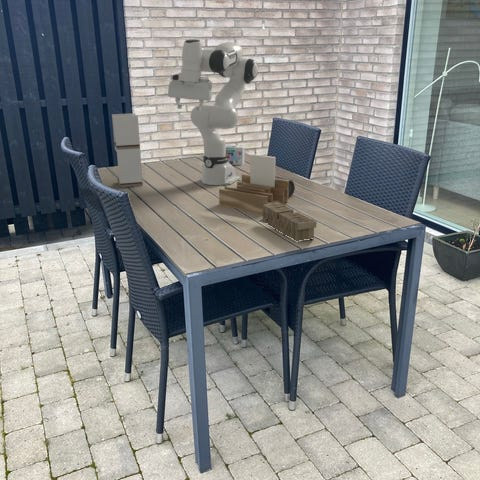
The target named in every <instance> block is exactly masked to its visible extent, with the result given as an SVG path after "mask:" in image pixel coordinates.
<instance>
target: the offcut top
mask: <svg viewBox="0 0 480 480" xmlns="http://www.w3.org/2000/svg"><path fill="white" fill-rule="evenodd" d="M236 188H238V189H244V190H250V191H256V192H262V193H269V194H270V193H271V188H270V187H264V186H258V185H252V184H246V183H244V184H241V185H238V186H237V185H236Z"/></svg>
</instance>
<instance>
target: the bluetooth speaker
mask: <svg viewBox="0 0 480 480" xmlns="http://www.w3.org/2000/svg"><path fill="white" fill-rule="evenodd" d="M275 178H276V179H282V180H289V196H288V198H290V197H292V196H293V195H294V193H295V189H296V185H295V183H294V181H293V180H292V179H289V178H286V177H282V176H281V177H280V176H278V175H275Z"/></svg>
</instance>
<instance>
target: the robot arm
mask: <svg viewBox="0 0 480 480" xmlns="http://www.w3.org/2000/svg"><path fill="white" fill-rule="evenodd" d="M243 51H244V50H243V48H242V46H241V45H240V44H238V43H236V42H233V41H231V42H230V41H228V42H226V41H225V42H223V43H222V42H221V43H219V44H218V45H217V46H216V47H215V48H214V49H204V48H203V45H202V41H201V39H193V38H192V39H186V40H184V42H183V46H182V52H181V63H182V66H181V68H180V70H181V71H180V73H179V72H178V73H175V74H171V75H170V77H169V78H170V82H169V84H168V88H167V89H168V90H167V95H168V97H169V98H173V99H175V103H176V106H177V109H178V110H179V109H183V104H181V103H180V101H181V99H184V100H185V99H186V100H193V101H194V100H197V101H199V104H198V105H197V106H194V107H193V108H192V109H191V112H190V120H191V122H192V124H193V125H194V127H195V128H197V129H198V131H199V132H200V135H201V137H202V142H203V153H204V154H203V156H202V157H203V160H202V161H203V165H202V169H201V171H202V174H201V177H200V181H201V183H202V184H203V185H208V186H221V185H222V186H223V185H232V184H233V183H235V182H238V180H240V179H241V177H240V175H237V173H236V168H235V167H234V165H231V164H230V163H229V162H228V159H230V157H231V156H230V155H226V147H227V143H226V140H225V138H224V137H223V136H222V135H220V134H219V133H218V130H217V129H221V130H229V129H233V128H235V127H236V126H237V124H238V123H239V113H238V111H237V110H236V109H235V108H236V106H237V104H239V103H240V101H241V99H242V97H243V95H244V92H245V88H246V87H245V86H246V85H247V84H248V85H249V84H250V83H251V82H252V81H254V80H255V79H256V78H257V76H258V74H259V73H258V72H259V64H258V62H257V61H256V60H255V59H253V58H247V57H243V54H244V53H243ZM202 72H203V73H204V72H206V73H215V74H218V75H219V76H221V77H222V78H228V79H229V80H228V82H226V83H225V84H224V85H223V87H222V88H221V89H220V90H219V92H218V93H217V94H216V95H215V99H214V103H215V105H208V104H207V105H206V104H204V103H205V102H210V101H211V100H212V97H213V96H212V95H213V91H212V88H213V82H212V81H211V80H210V79H208V78H201V77H202ZM227 158H228V159H227Z"/></svg>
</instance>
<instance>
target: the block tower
mask: <svg viewBox="0 0 480 480" xmlns="http://www.w3.org/2000/svg"><path fill="white" fill-rule="evenodd" d="M262 219H263V220H265V221H266V222H265V221H264V222H265V223H268V224H267V226H268V225H270V226H272V227H273V228H275V229H277V230H278V231H280V232H282V233H283V234H285V235H287V236H289V237H291V238H293V239H294V240H296V241H299V240H304V239H311V238H315V237H314V236H315V229H316V228H317V220H315V219H313V218H310V217H308V216H306V215H304V214H303V213H301V212H299V211H296V212H294V209H292V208H290V207H288V206H287V205H286V204H284V205H283V204H281V203H279V202H273V203H272V202H271V203H267V204H265V205H263V213H262ZM265 223H264V224H265ZM270 226H269V227H270ZM272 227H271V228H272ZM273 228H272V229H273ZM275 229H274V230H275ZM278 231H277V232H278Z"/></svg>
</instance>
